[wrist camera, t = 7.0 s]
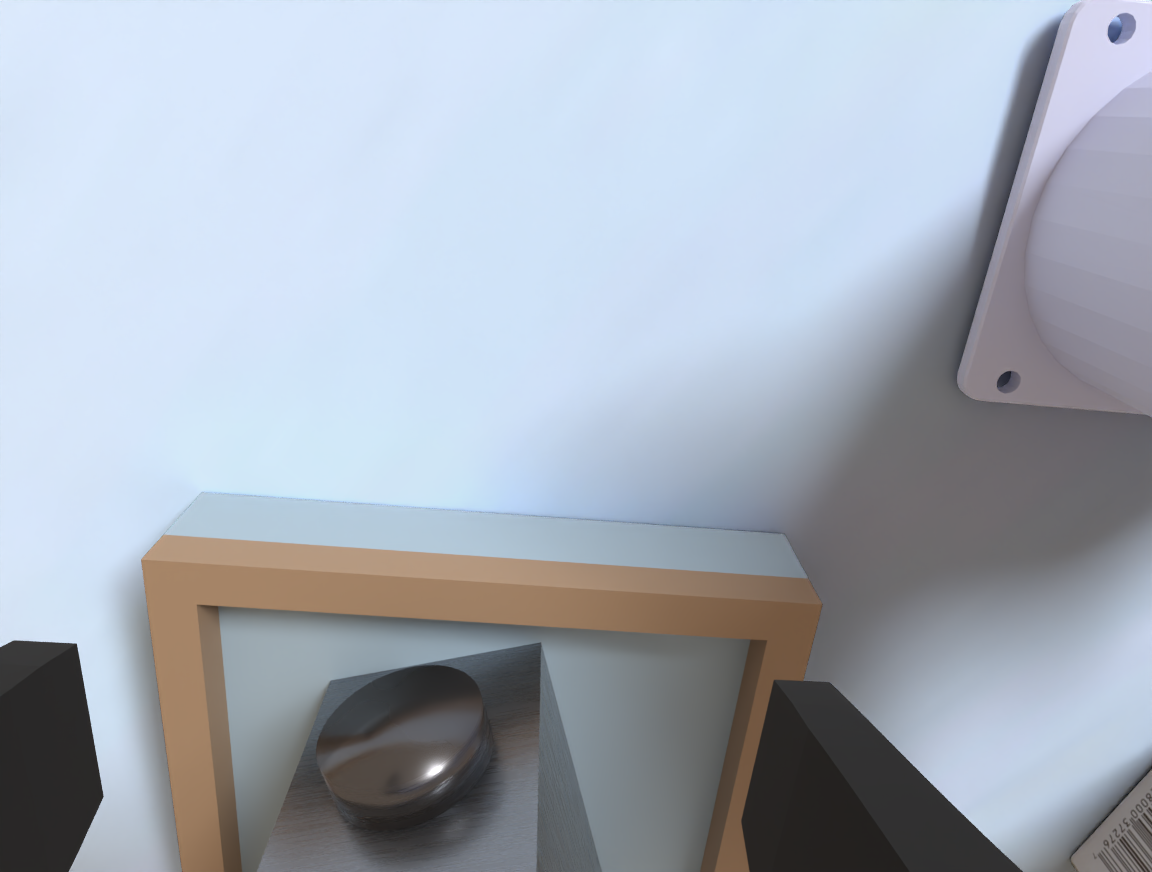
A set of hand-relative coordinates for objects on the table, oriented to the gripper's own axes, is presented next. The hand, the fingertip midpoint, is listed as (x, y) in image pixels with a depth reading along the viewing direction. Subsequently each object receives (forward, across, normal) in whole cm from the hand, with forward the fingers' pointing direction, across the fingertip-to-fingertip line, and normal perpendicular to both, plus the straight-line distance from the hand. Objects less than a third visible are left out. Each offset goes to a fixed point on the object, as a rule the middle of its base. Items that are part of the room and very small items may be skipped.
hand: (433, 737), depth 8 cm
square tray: (+10, 0, +10) cm, 14 cm away
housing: (+8, 0, +10) cm, 13 cm away
